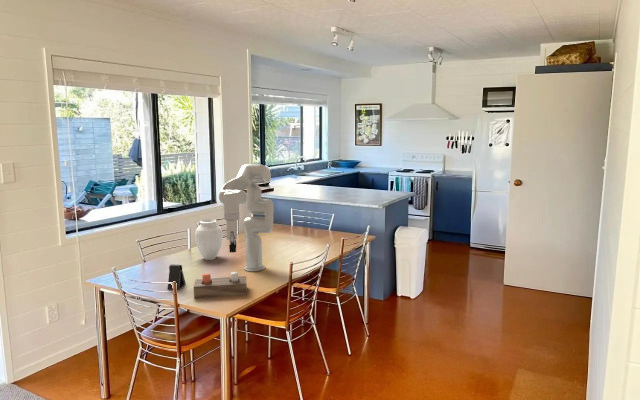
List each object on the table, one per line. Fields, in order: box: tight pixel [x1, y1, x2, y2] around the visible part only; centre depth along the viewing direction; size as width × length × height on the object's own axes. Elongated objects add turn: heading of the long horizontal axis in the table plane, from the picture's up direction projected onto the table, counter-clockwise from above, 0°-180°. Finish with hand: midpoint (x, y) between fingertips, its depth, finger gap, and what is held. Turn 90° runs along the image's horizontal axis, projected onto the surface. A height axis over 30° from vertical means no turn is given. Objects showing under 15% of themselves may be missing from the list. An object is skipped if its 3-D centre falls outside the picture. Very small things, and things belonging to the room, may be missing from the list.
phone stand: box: [167, 264, 186, 290], centre depth 248 cm, size 9×6×12 cm, turn 170°
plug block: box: [193, 275, 248, 299], centre depth 239 cm, size 12×26×6 cm, turn 99°
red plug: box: [202, 273, 212, 284], centre depth 237 cm, size 4×4×6 cm
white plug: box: [230, 271, 239, 282], centre depth 240 cm, size 4×4×6 cm
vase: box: [194, 218, 224, 261], centre depth 300 cm, size 18×18×25 cm
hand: (233, 249), depth 237 cm, fingers open, 8 cm apart
